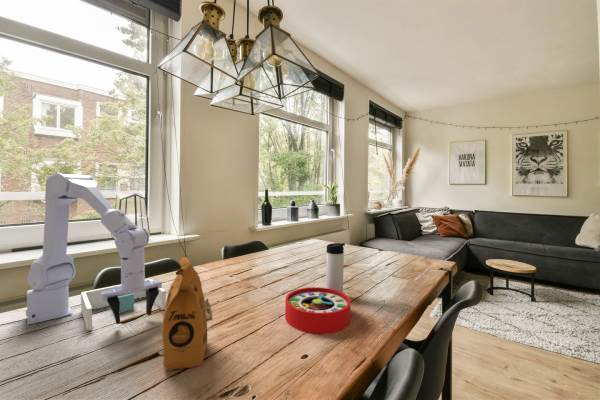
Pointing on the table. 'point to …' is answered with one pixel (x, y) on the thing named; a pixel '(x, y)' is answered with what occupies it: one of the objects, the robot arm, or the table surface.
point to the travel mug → (335, 266)
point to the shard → (207, 309)
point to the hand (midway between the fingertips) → (133, 318)
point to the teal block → (126, 302)
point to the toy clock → (317, 310)
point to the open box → (95, 301)
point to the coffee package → (184, 320)
